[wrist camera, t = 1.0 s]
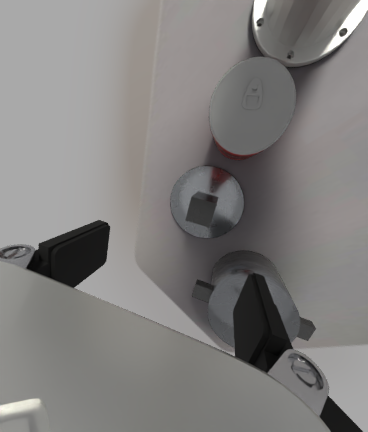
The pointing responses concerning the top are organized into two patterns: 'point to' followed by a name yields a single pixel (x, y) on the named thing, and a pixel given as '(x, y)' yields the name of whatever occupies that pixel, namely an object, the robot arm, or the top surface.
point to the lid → (207, 202)
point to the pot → (231, 288)
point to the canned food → (251, 107)
